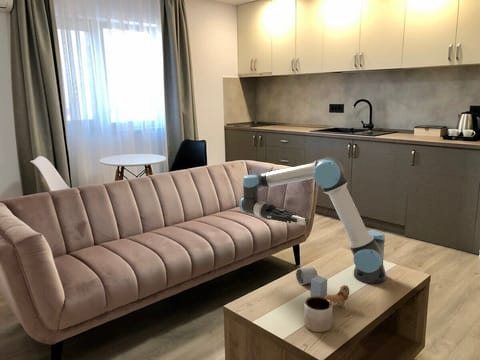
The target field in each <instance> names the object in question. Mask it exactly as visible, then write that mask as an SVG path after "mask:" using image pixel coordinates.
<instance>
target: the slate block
mask: <svg viewBox="0 0 480 360" xmlns="http://www.w3.org/2000/svg"><path fill="white" fill-rule="evenodd" d="M327 295H328V278H326V277H323V276H321V275H317V276H316V277H314V278H312V279H311V283H310V297H312V296H320V297H324V298H325V296H327Z"/></svg>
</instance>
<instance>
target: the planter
mask: <svg viewBox="0 0 480 360" xmlns="http://www.w3.org/2000/svg"><path fill="white" fill-rule="evenodd" d="M303 306H304V308H303V311H304V312H303V325H304V326H305V327H306V328H307V329H308V330H309V331H312V332H316V333H324V332H327V331H329V330H330V329H332V326H333V312H332V310H333V302H331V301H330V300H329V299H327V298H324V297H320V296H312V297H311V296H309V297H307V298H306V299H304V305H303Z"/></svg>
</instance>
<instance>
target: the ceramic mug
mask: <svg viewBox="0 0 480 360" xmlns="http://www.w3.org/2000/svg"><path fill="white" fill-rule="evenodd" d="M316 276H318V271H317V270H316V268H314V267H313V266H309V267H308V266H307V267H300V268H298V269H296V272H295V277H296V280H297V283H298V284H299V285H301V286H303V285H307V284H311V279H312V278H314V277H316Z"/></svg>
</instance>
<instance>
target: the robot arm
mask: <svg viewBox="0 0 480 360" xmlns="http://www.w3.org/2000/svg"><path fill="white" fill-rule="evenodd" d="M345 167H346V166H345V163H344V162H343V160H342V159H341V158H340V157H338V156H335V155H328V156H325V157H323V158H320V159H319V158H318V159H316V160H314V161H313V162H311V163H306V164H302V165H296V166H292V167H288V168H284V169H283V168H282V169H277V170H273V171H270V172H260V173H258V174H247V175H244V176H243V178H242V179H243V182H242V185H243V186H242V189H243V197H242V198H241V199H240V200H239V203H238V208H239V210H240V211H241V212H243V213H246V214H250V215H251V216H256V217H259V218H261V219H262V218H263V219H265V220H271V221H277V222H282V223H288V224H291V223H295V224H298V225H301V226H304V225H306V218H305V217H300V216H297V213H295V212H293V211H290V210H288V209H287V208H283V209H280V208H276V206H275V205H274V204H272V203H269V202H266V201H261V200H259V191H261V190H262V189H266V188H271V187H276V186H280V185H286V184H291V183H297V182H302V181H307V180H313V179H314V182H315V183H316V184H317V185H318V186H320V187H321V190H322V192H323V194H326V195H328V196H329V198H330V201H331V203H332V205H333V206H334V207H333V208H335V211H336V214H337V216H338V218H339V220H340V221H341V222H340V223H341V224H342V226H343V229H344V230H345V232H346V234H347V236H348V239H349V242H350V243H349V245H348V246H349V248H350V251H351V253H352V255H353V264H354V269H353V277H354V278H355V279H356V280H358V281H359V282H362V283H364V284H371V285H375V284H376V285H377V284H382V283H384V282H385V281H386V279H387V272H386V268H385V266H384V254H385V243H386V239H385V234H384V233H382V232H380V231H374V230H367V228H366V226H365V223H364V221H363V219H362V218H361V215H360V213H359V210H358V208H357V207H356V204H355V202H354V200H353V198H352V196H351V193H350V192H349V190H348V188H347V186H348V183H349V182H348V180H347V178H346V175H345Z"/></svg>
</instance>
